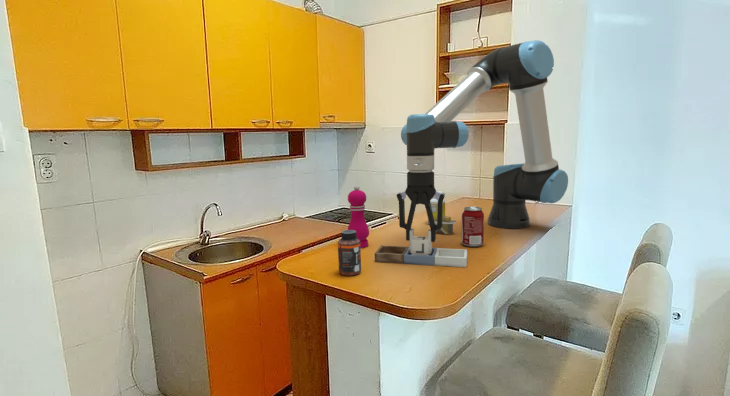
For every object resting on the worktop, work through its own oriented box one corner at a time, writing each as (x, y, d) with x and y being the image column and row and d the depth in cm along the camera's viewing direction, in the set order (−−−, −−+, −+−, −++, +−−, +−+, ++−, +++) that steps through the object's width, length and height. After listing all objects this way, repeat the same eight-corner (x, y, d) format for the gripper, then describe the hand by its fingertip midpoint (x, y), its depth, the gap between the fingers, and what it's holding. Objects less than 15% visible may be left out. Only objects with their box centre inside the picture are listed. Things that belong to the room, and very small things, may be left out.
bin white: (467, 257, 117) (467, 249, 117) (466, 267, 109) (466, 258, 109) (437, 256, 119) (437, 248, 119) (434, 265, 111) (434, 256, 111)
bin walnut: (408, 254, 122) (408, 246, 121) (403, 263, 114) (403, 255, 113) (381, 253, 124) (381, 245, 124) (374, 261, 116) (374, 253, 116)
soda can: (484, 248, 126) (484, 210, 124) (461, 247, 127) (462, 210, 125) (482, 242, 132) (483, 206, 131) (461, 241, 134) (461, 206, 132)
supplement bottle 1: (364, 275, 106) (362, 232, 104) (341, 277, 104) (340, 235, 102) (357, 267, 112) (356, 227, 110) (336, 270, 110) (335, 229, 108)
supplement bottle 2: (442, 222, 163) (443, 190, 161) (447, 225, 156) (447, 193, 154) (426, 222, 162) (426, 191, 160) (429, 226, 156) (429, 193, 154)
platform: (462, 241, 136) (462, 222, 135) (411, 236, 145) (411, 218, 143) (470, 232, 147) (470, 215, 146) (423, 228, 155) (423, 211, 154)
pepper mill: (356, 241, 138) (354, 183, 135) (373, 244, 134) (372, 184, 130) (343, 246, 132) (340, 186, 129) (361, 250, 128) (359, 187, 125)
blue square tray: (437, 256, 119) (437, 248, 119) (434, 265, 111) (434, 256, 111) (409, 254, 122) (408, 246, 121) (404, 263, 114) (404, 255, 113)
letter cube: (429, 251, 118) (429, 236, 117) (427, 256, 113) (427, 240, 113) (414, 250, 119) (414, 235, 118) (411, 255, 114) (411, 239, 114)
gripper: (386, 172, 111) (388, 254, 115) (451, 172, 106) (451, 257, 110) (392, 169, 118) (393, 246, 122) (453, 169, 114) (452, 249, 117)
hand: (420, 251), depth 116 cm, fingers closed on letter cube, 4 cm apart
